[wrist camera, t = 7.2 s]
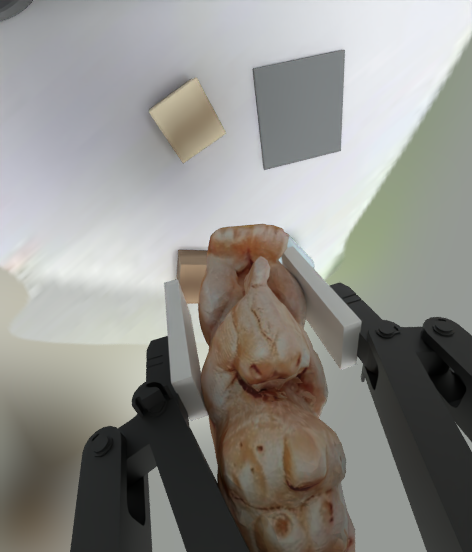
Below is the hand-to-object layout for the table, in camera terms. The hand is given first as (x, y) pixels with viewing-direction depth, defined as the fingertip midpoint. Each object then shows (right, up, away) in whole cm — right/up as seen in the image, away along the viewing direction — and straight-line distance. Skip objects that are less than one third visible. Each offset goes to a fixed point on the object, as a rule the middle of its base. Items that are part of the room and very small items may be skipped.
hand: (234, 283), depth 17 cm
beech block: (-5, +17, +13) cm, 22 cm away
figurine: (-1, +2, +3) cm, 3 cm away
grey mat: (+7, +19, +16) cm, 26 cm away
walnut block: (-6, +1, +23) cm, 24 cm away
